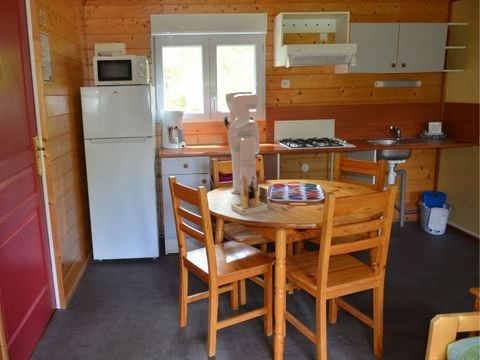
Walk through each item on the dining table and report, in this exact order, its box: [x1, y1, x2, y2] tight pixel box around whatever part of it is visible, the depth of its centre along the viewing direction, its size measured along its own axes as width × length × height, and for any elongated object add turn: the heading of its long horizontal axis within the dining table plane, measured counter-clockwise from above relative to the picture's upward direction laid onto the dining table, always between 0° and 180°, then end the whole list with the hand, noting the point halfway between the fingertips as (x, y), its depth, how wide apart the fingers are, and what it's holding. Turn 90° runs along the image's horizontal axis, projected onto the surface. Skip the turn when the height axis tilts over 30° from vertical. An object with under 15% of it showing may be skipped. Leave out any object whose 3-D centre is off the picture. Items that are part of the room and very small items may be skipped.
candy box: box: [240, 175, 260, 208], centre depth 222 cm, size 9×4×15 cm, turn 119°
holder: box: [258, 186, 268, 203], centre depth 236 cm, size 7×13×7 cm, turn 117°
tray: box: [230, 201, 270, 216], centre depth 223 cm, size 13×15×3 cm
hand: (249, 197), depth 222 cm, fingers closed on candy box, 4 cm apart
